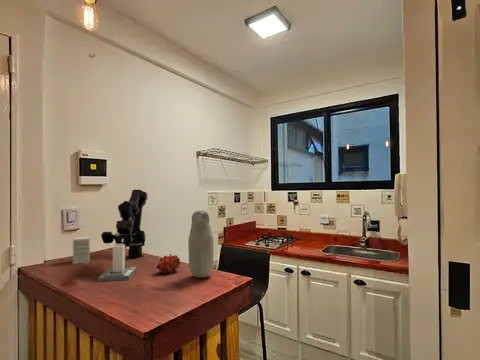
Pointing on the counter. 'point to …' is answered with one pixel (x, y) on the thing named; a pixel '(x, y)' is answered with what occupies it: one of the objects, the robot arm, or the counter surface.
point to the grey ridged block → (81, 250)
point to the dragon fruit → (168, 264)
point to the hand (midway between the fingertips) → (120, 252)
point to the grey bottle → (200, 245)
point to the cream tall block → (118, 258)
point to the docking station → (117, 274)
